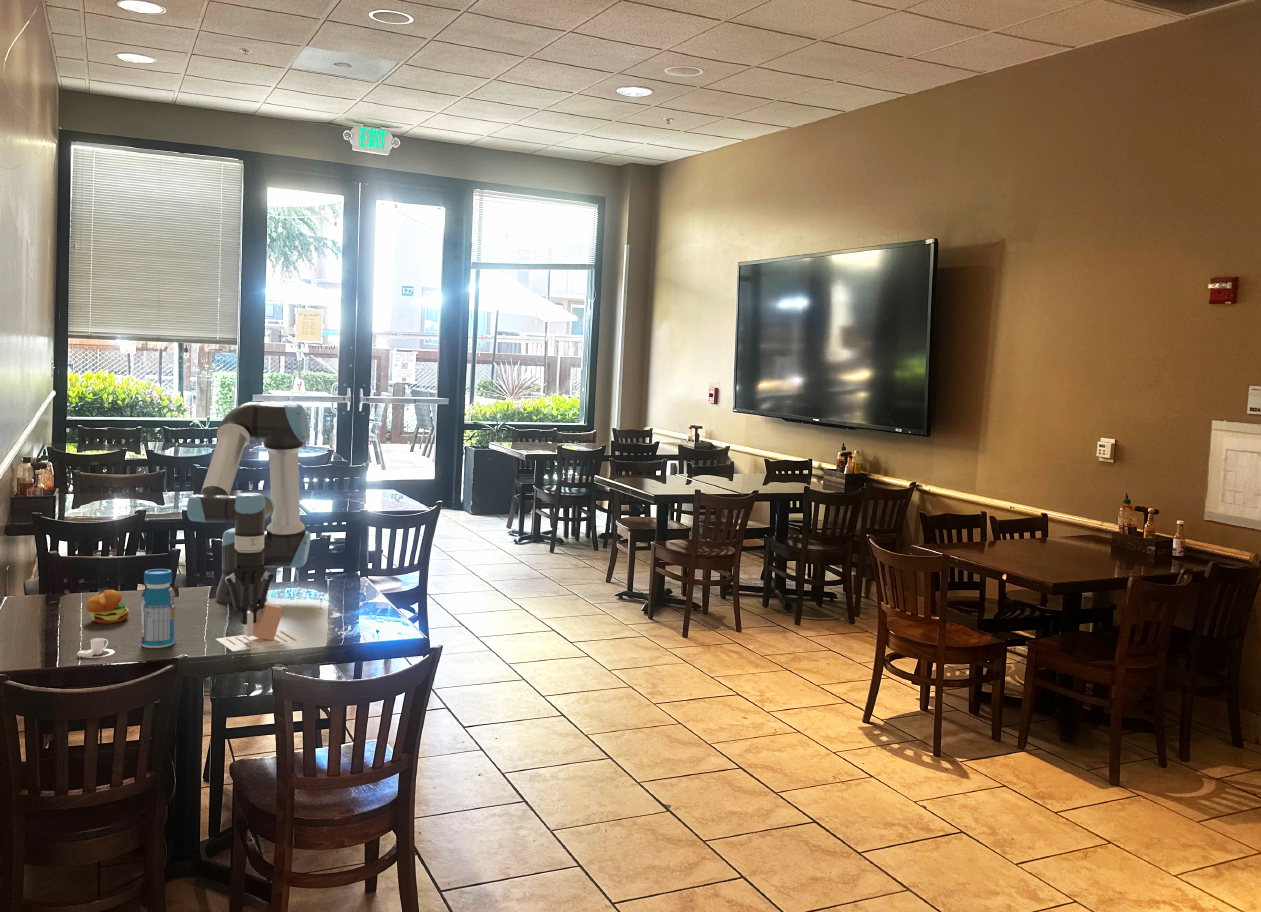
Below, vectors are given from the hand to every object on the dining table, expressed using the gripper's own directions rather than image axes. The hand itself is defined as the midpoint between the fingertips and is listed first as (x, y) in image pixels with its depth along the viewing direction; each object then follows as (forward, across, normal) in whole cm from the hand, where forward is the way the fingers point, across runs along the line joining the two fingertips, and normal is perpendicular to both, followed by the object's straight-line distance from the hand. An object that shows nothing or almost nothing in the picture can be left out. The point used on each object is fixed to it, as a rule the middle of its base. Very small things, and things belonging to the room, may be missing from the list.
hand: (248, 635), depth 278 cm
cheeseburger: (+2, -26, +42) cm, 49 cm away
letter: (+2, +4, 0) cm, 4 cm away
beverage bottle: (+2, -21, +10) cm, 23 cm away
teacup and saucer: (+3, -38, +11) cm, 40 cm away
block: (+1, +4, 0) cm, 4 cm away
